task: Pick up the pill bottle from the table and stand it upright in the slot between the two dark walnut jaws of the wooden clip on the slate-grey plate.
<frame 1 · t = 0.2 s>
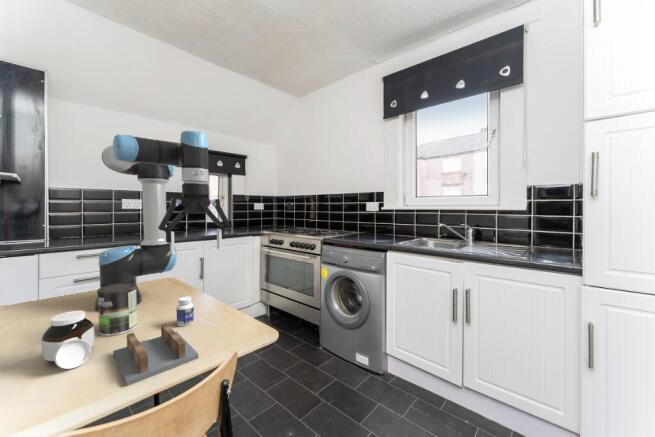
hand: (197, 251, 86), 27 cm above the table, tool pointing down, fingers open, 13 cm apart
spread jar: (72, 360, 74), on the table
pill bottle: (185, 323, 96), on the table
wooden clip: (155, 345, 75), on the clip plate, point 3 cm above the table
clip plate: (155, 356, 75), on the table
coffee can: (119, 329, 91), on the table
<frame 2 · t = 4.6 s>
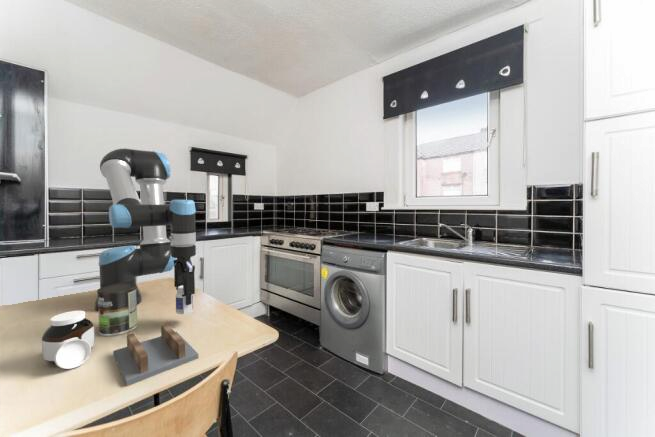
hand: (184, 310, 96), 4 cm above the table, tool pointing down, fingers closed on pill bottle, 5 cm apart
pill bottle: (184, 311, 96), point 4 cm above the table, touching gripper
everything else where it was.
when the fingers open (2 cm above the table, at t = 9.3 s): pill bottle stays where it is, resting on clip plate.
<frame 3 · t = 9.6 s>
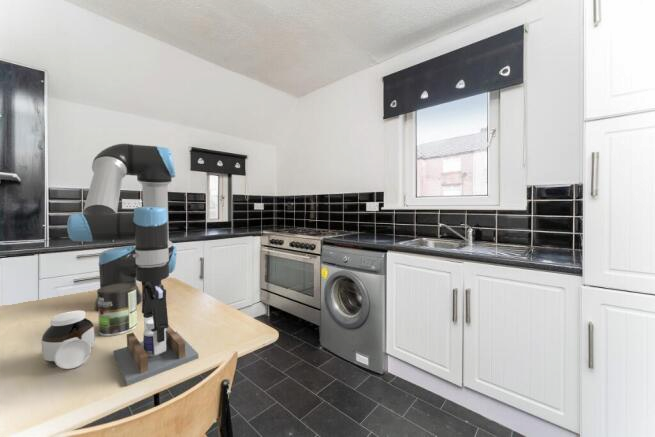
hand: (155, 345, 75), 3 cm above the table, tool pointing down, fingers open, 8 cm apart
pill bottle: (155, 352, 75), point 1 cm above the table, touching clip plate
everything else where it was.
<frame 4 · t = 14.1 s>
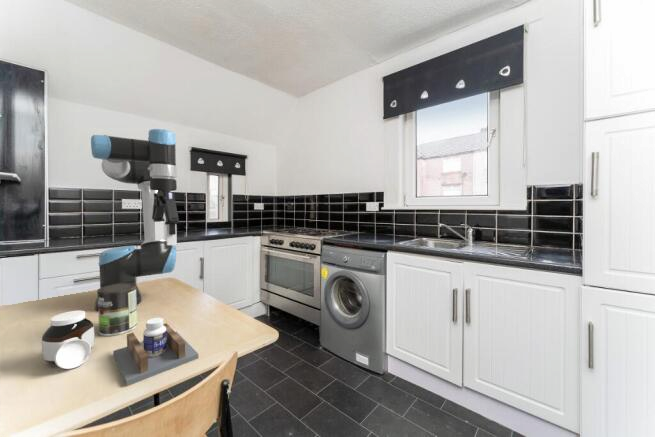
hand: (165, 242, 92), 29 cm above the table, tool pointing down, fingers open, 13 cm apart
nothing on the table moved.
at the end: pill bottle inside the target area on the wooden clip (0.1 cm from its centre), point 1.0 cm above the wooden clip's base; pill bottle tilted 0°; the gripper is holding nothing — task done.
